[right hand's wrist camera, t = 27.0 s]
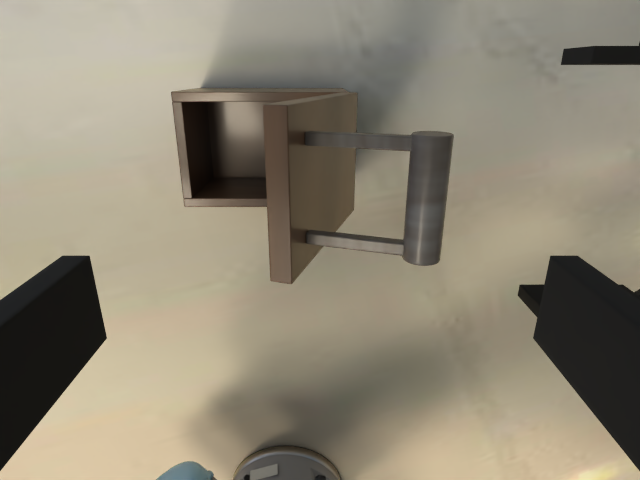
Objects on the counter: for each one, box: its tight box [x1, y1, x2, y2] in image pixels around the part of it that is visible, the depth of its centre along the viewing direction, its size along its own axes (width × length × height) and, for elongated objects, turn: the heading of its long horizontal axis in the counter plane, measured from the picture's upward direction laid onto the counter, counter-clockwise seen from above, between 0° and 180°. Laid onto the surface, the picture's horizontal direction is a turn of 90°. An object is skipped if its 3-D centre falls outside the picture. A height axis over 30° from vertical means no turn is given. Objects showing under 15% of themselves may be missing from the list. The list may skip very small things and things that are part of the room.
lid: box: [263, 92, 454, 284], centre depth 27 cm, size 14×9×9 cm
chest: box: [171, 88, 348, 207], centre depth 39 cm, size 14×9×9 cm
